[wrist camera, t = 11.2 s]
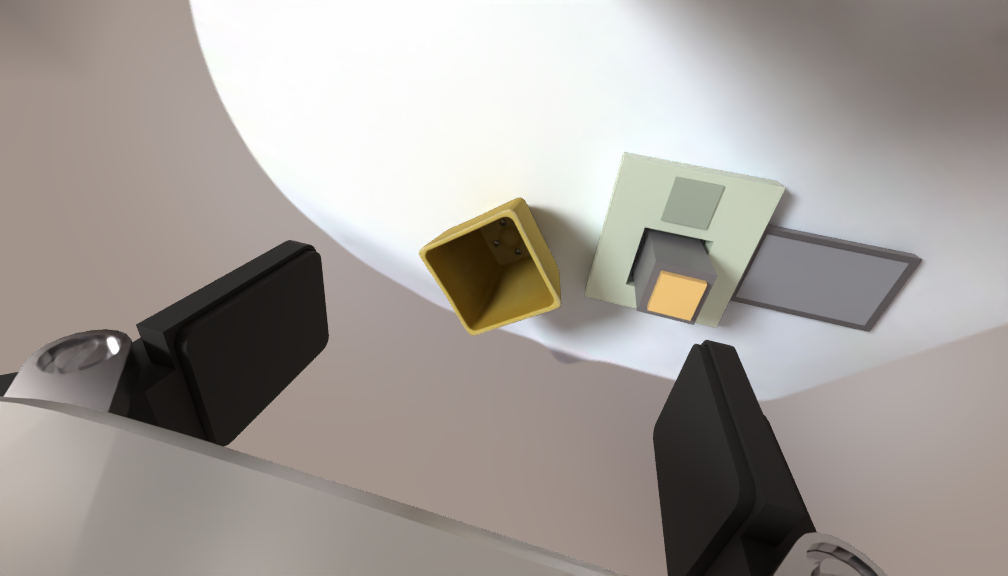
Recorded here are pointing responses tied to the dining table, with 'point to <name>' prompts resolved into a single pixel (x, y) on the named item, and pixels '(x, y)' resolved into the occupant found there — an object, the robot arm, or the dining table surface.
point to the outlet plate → (681, 224)
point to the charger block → (672, 276)
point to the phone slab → (823, 277)
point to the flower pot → (495, 268)
